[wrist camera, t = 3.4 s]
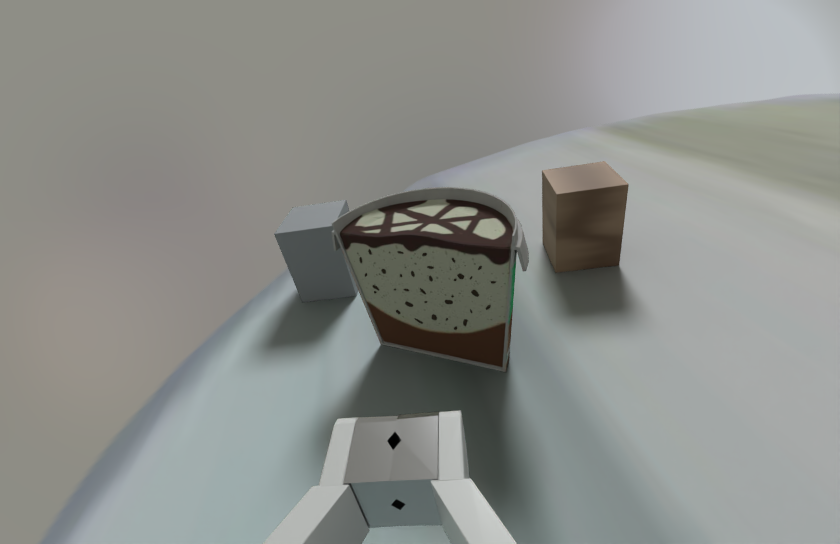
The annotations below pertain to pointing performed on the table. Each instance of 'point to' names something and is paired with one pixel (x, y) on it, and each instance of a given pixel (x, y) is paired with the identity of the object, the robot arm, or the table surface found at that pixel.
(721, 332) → the table surface
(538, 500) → the table surface
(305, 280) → the slate block
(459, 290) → the food container
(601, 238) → the walnut block
